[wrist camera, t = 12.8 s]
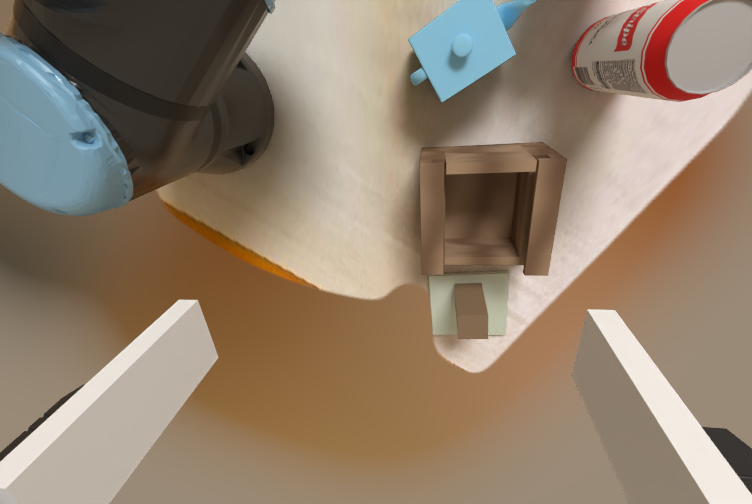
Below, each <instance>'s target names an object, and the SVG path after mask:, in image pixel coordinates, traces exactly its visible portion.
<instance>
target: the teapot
mask: <svg viewBox="0 0 752 504" xmlns="http://www.w3.org/2000/svg"><path fill="white" fill-rule="evenodd" d="M536 1H537V0H515V1H511V2H507V3H504V4H501V5H499V6H497V7H495V5H494V2H493V0H460V1H458V2H457V3H456V4H454V5H453V6H452V7H450V8H449V9H448V10H446V11H445V12H444V13H442V14H441V15H440V16H438V17H437V18H436V19H434V20H433V21H432V22H430V23H429V24H428V25H426V26H425V27H424V28H422V29H421V30H420V31H418V32H417V33H416V34H414V35H413V36H412V37H410V38H409V39H408V41H409V43H410V45H411V47H412V48H413V50H414V52H415V54H416V56H417V58H418V60H419V62H420V63H421V65H422V67H421V68H420V69H419V70H417V71H416V72H414V73H413V74H412V75H411V76H410V79H411V82H412V83H413V85H415V86H417V85H418V84H420V83H421V82H423V81H424V80H426V79H427V78H429V80H430V82H431V84H432V86H433V88H434V90H435V92H436V93H437V95H438V97H439V99H440V101H441V103H442V102H444V101H446V100H447V99H449V98H450V97H452V96H453V95H455V94H456V93H458V92H459V91H461V90H462V89H464V88H465V87H467V86H469V85H470V84H472V83H473V82H475V81H476V80H478V79H479V78H481V77H482V76H484V75H485V74H487V73H488V72H490V71H492V70H493V69H495V68H496V67H498V66H499V65H501V64H502V63H504V62H505V61H507V60H508V59H510V58H511V57H513V56H515V55H516V52H515V50H514V48H513V45H512V43H511V41H510V39H509V36H508V34H507V32H506V31H507V30H508V29H509V28H510V27H511V26H512V25H513V24H514V23H515V21H516V20H517V18H518V17H519V16H520V15H521V13H522V12H523V11H524V10H525V9H527V8H528V7H529V6H531V5H532V4H533V3H535V2H536Z"/></svg>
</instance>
